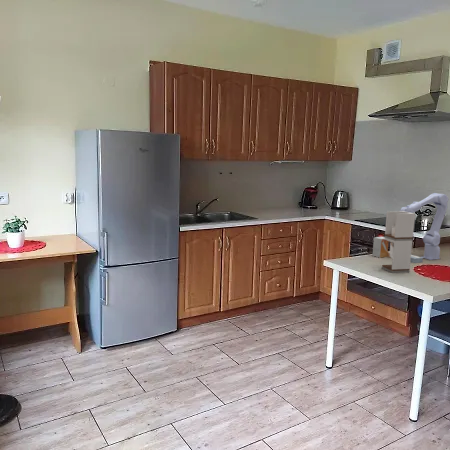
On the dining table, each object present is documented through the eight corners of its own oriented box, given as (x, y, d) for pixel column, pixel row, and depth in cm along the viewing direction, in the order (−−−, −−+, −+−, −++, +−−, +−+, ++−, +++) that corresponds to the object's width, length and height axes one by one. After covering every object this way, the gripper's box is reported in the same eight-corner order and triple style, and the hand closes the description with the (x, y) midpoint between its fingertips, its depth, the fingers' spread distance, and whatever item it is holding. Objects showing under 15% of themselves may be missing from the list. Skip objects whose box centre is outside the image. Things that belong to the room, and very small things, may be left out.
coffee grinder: (398, 267, 267) (403, 211, 261) (409, 272, 257) (415, 213, 251) (381, 268, 264) (386, 211, 259) (392, 272, 254) (397, 213, 248)
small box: (379, 258, 291) (381, 239, 289) (372, 256, 296) (373, 237, 294) (387, 256, 295) (389, 238, 293) (379, 254, 300) (381, 236, 298)
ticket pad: (407, 257, 294) (407, 253, 293) (422, 262, 282) (422, 257, 281) (399, 258, 291) (399, 253, 291) (414, 263, 279) (414, 258, 279)
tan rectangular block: (389, 255, 299) (389, 250, 299) (396, 257, 293) (397, 253, 292) (384, 255, 298) (385, 251, 297) (391, 258, 291) (392, 253, 291)
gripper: (391, 223, 291) (390, 243, 293) (408, 227, 278) (406, 248, 280) (400, 223, 293) (398, 243, 296) (416, 226, 280) (414, 247, 282)
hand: (403, 245), depth 288 cm, fingers closed
